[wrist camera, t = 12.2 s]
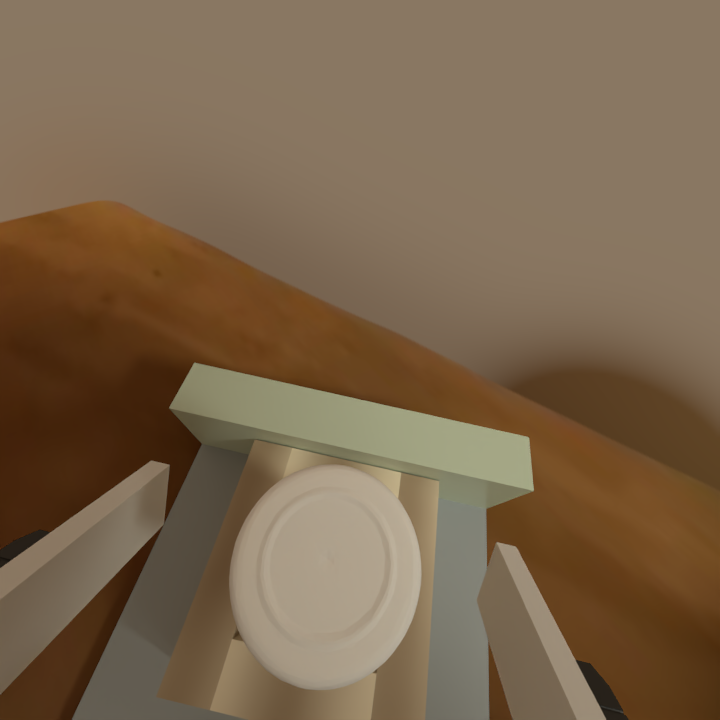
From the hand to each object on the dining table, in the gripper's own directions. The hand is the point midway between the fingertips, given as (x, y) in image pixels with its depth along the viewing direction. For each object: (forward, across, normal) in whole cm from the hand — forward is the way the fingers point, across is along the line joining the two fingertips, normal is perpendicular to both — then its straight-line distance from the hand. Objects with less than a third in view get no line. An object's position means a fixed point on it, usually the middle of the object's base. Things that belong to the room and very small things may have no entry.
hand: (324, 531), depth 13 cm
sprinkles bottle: (+5, 0, -6) cm, 8 cm away
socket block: (+5, 0, -7) cm, 9 cm away
